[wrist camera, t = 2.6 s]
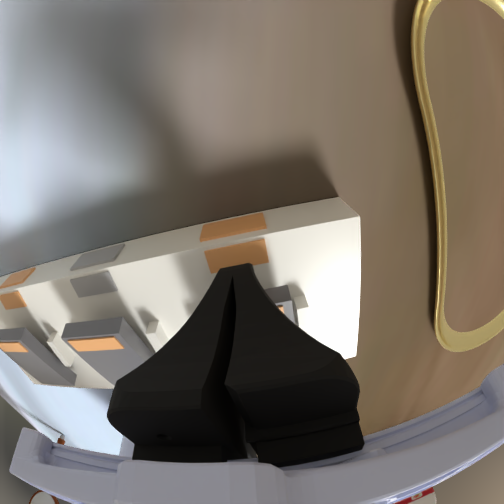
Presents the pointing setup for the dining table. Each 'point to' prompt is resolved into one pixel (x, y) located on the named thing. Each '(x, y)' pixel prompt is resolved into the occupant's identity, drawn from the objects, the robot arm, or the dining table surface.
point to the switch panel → (196, 280)
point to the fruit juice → (420, 498)
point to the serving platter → (442, 186)
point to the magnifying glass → (42, 500)
